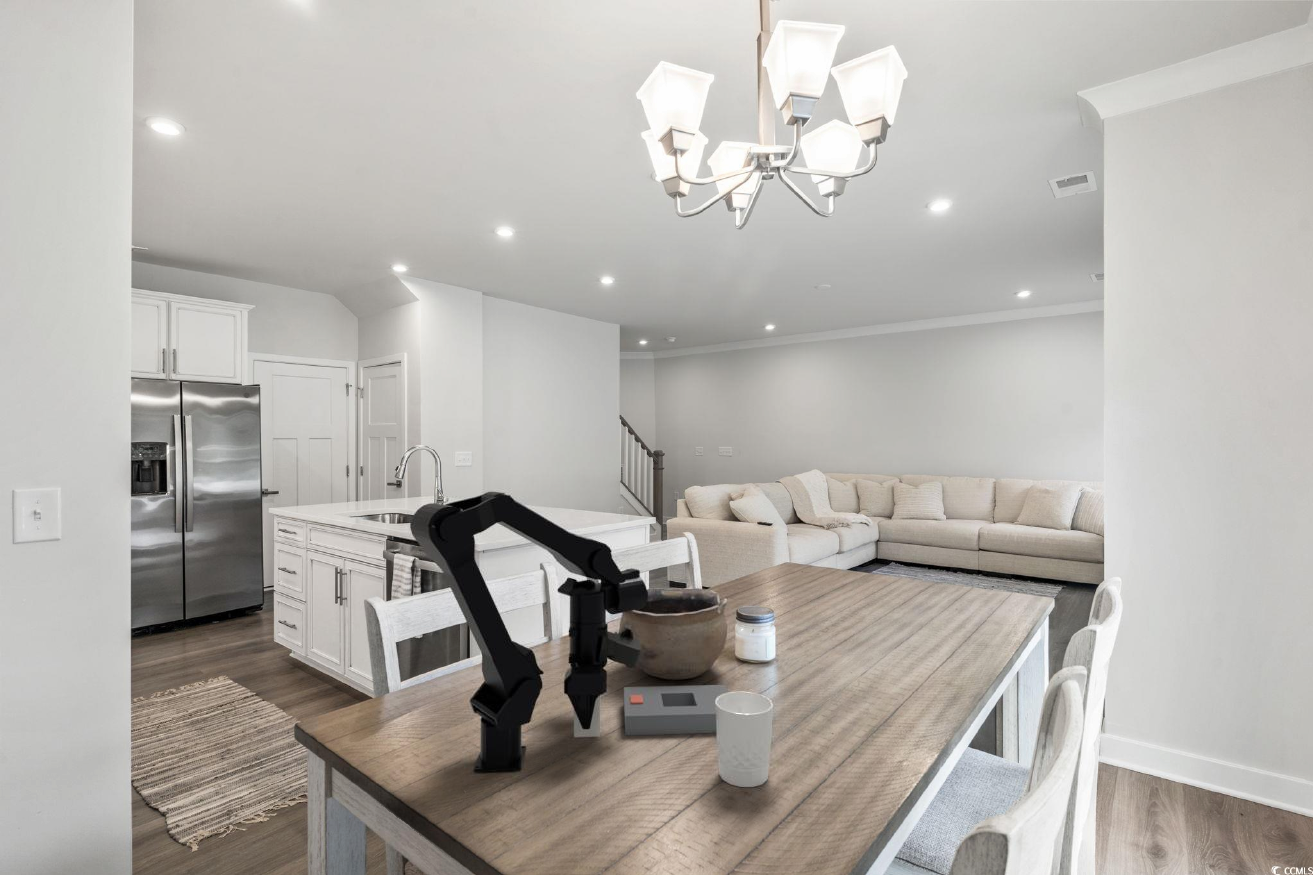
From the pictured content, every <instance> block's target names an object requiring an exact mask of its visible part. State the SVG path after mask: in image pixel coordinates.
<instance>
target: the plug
mask: <svg viewBox="0 0 1313 875" xmlns="http://www.w3.org/2000/svg"><path fill="white" fill-rule="evenodd" d="M600 736H601V695H600V696H599V697H598V698H597V699H596V702H595V706H594V711H593V716H592V721H591V726H590V729H582V726H581V724H580V722H579V719H578V717H577V715H576V712H575V710H574V709H573V738H589V737H590V738H593V737H594V738H595V737H599V738H600Z"/></svg>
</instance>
